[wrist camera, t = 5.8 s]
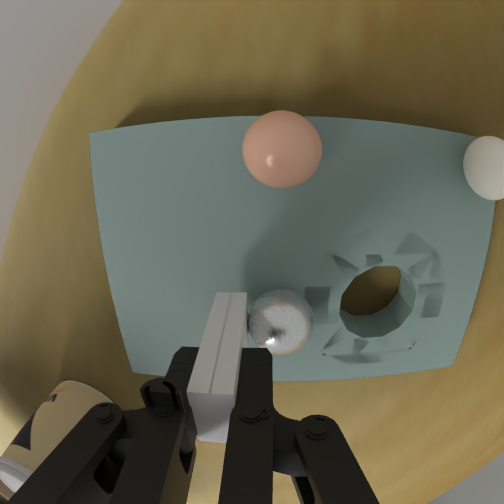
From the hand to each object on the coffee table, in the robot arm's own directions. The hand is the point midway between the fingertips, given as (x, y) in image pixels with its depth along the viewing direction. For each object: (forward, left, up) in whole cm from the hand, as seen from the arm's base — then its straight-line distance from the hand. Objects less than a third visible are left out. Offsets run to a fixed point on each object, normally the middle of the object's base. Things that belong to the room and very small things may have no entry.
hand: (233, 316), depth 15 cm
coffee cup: (-15, -14, -4) cm, 21 cm away
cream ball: (+13, +8, 0) cm, 15 cm away
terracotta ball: (+2, +8, 0) cm, 8 cm away
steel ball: (+2, 0, 0) cm, 2 cm away
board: (+4, +2, -4) cm, 6 cm away
